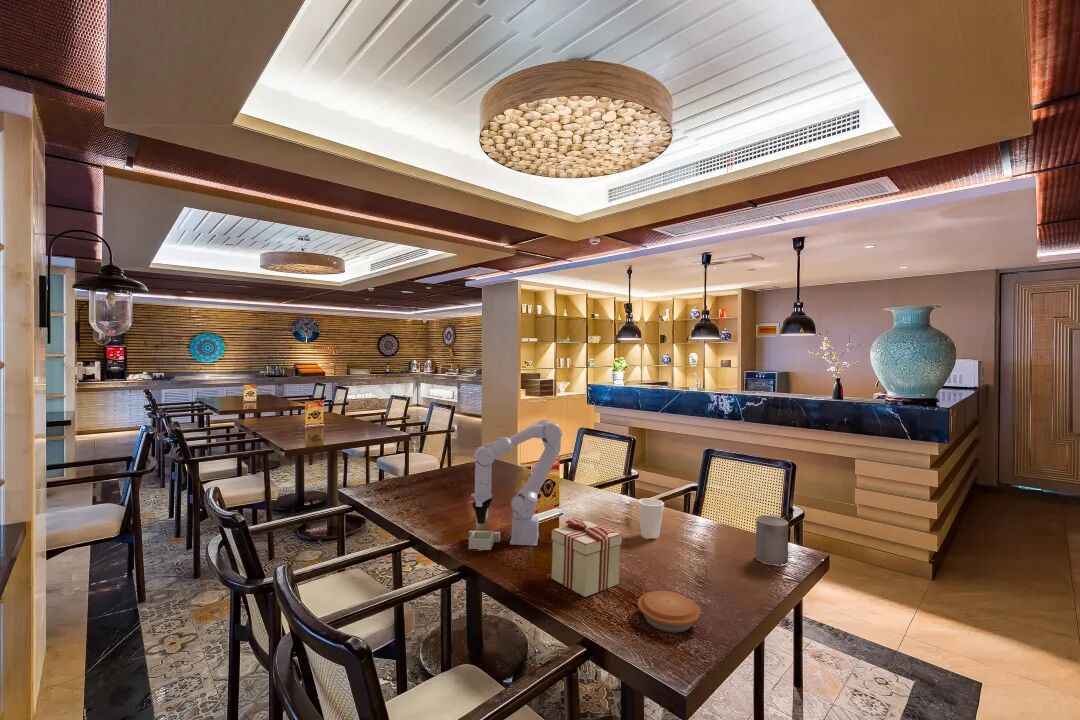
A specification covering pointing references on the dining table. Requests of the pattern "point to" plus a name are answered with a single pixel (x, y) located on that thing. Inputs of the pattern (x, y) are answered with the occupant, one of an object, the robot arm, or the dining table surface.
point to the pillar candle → (772, 539)
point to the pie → (668, 610)
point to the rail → (496, 535)
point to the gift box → (585, 557)
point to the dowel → (482, 526)
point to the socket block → (481, 540)
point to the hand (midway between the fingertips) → (482, 521)
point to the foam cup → (650, 516)
